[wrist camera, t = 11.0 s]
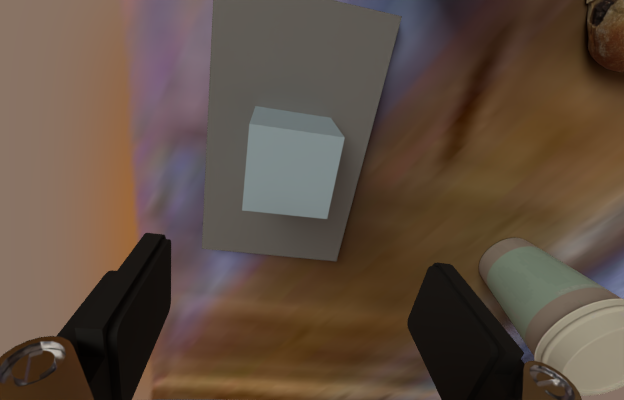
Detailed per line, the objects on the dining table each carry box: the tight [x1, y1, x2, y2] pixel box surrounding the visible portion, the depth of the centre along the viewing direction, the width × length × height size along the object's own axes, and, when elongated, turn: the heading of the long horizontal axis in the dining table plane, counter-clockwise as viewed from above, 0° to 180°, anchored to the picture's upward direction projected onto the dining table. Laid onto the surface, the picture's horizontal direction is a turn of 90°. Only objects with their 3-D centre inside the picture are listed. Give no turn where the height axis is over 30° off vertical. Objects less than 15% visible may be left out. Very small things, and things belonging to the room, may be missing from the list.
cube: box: [242, 106, 345, 219], centre depth 22 cm, size 6×6×6 cm
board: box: [202, 0, 402, 261], centre depth 25 cm, size 20×12×2 cm, turn 169°
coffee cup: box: [479, 238, 624, 396], centre depth 28 cm, size 8×8×12 cm
